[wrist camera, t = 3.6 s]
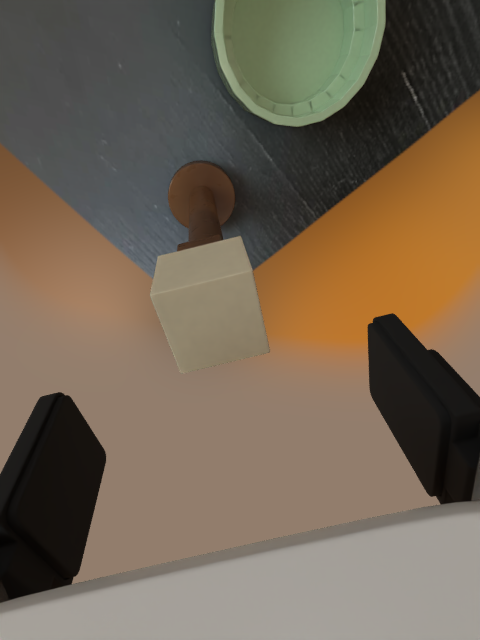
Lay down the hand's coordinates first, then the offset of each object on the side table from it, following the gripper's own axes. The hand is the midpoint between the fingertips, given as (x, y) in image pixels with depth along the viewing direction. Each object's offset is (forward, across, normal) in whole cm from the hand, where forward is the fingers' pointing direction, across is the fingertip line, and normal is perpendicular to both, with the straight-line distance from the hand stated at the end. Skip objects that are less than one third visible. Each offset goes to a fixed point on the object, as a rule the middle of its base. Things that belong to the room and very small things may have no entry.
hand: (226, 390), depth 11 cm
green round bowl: (+27, -9, -10) cm, 30 cm away
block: (+8, 0, 0) cm, 8 cm away
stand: (+27, 0, 0) cm, 27 cm away
